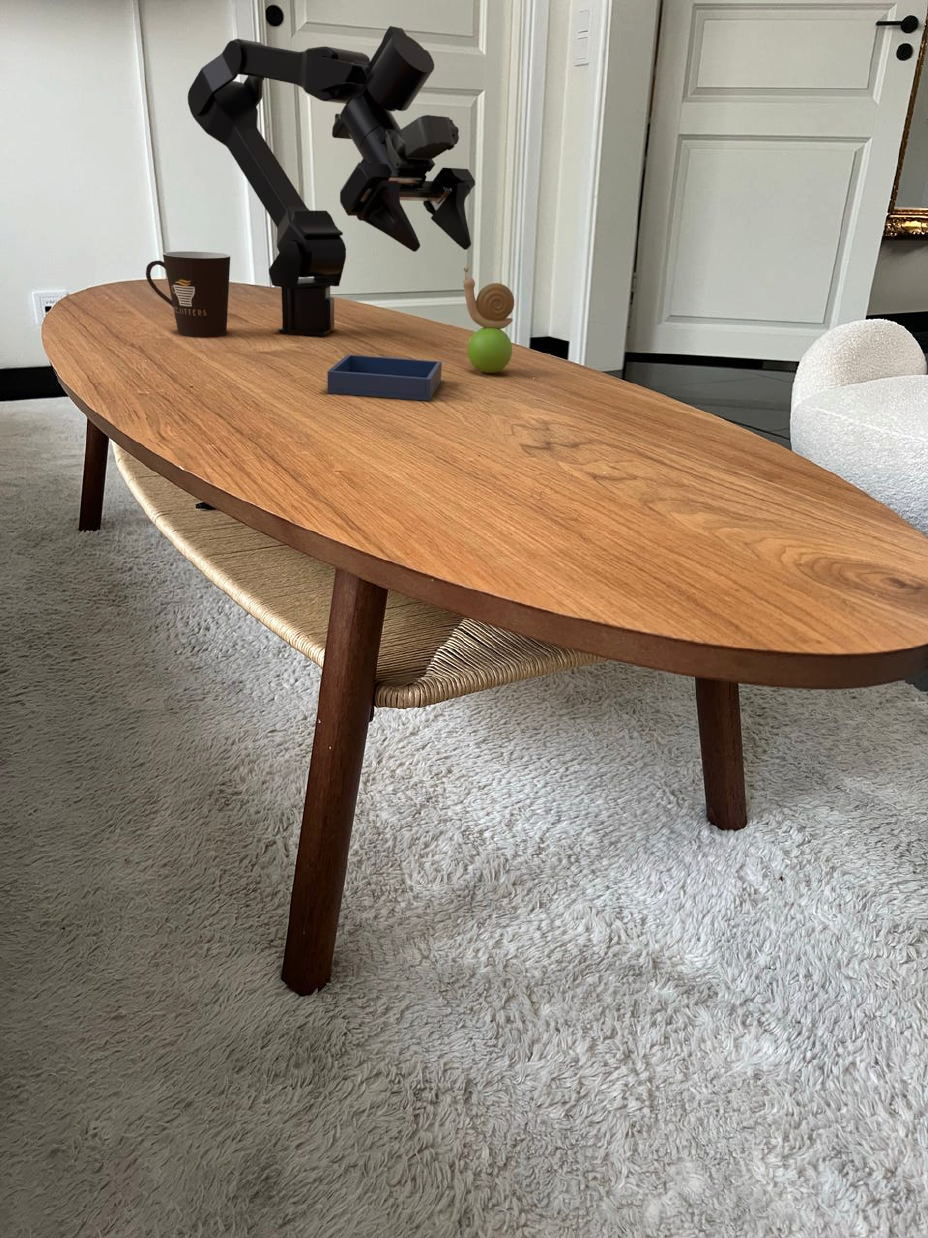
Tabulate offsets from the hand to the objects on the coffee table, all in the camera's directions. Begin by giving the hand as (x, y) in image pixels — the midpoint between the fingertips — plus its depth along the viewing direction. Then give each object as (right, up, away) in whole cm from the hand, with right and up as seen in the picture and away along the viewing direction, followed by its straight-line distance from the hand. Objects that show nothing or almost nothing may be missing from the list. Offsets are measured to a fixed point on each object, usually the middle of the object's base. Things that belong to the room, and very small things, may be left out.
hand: (443, 248), depth 109 cm
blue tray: (-6, -19, -8) cm, 22 cm away
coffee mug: (-35, -5, +16) cm, 38 cm away
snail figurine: (+5, -15, +2) cm, 16 cm away
